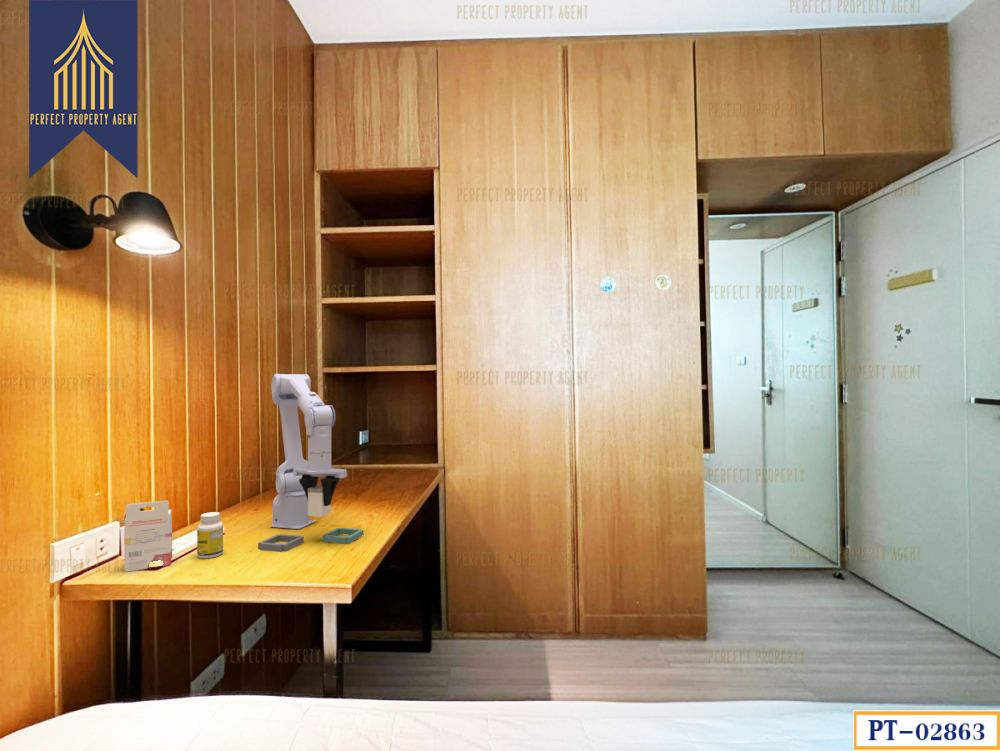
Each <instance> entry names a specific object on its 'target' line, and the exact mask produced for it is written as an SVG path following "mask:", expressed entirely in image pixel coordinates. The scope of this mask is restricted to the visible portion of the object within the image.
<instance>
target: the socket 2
mask: <svg viewBox="0 0 1000 751" xmlns="http://www.w3.org/2000/svg"><path fill="white" fill-rule="evenodd" d="M364 532H365V530H364V529H361V528H352V527H351V528H350V527H336V528H334V529H332V530H330V531H327V532H326V533H324V534H322V536H321V541H322V542H324V543H329V542H336V543H335V544H342V543H346V544H352V543H353V542H355V541H356V539H357V538H358V539H360V538H361V536H362V535H363V536H364ZM338 534H339V535H338ZM343 534H349V535H347V536H345V535H344V536H341V535H343ZM336 535H337V536H336ZM363 536H362V537H363ZM359 537H360V538H359ZM358 539H357V540H358ZM354 540H355V541H354ZM352 541H353V542H352ZM351 542H352V543H351Z"/></svg>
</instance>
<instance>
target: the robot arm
mask: <svg viewBox="0 0 1000 751" xmlns="http://www.w3.org/2000/svg"><path fill="white" fill-rule="evenodd" d="M311 386H312V384H311V377H310V376H309V374H307V373H303V374H301V373H300V374H297V373H296V374H295V373H293V374H292V373H289V374H288V373H286V374H285V373H274V375H273V376H272V378H271V386H270V388H271V396H272V398H271V399H272V400H273V401H272V402H273V404H274V405H276V406H278V408H279V414H280V422H281V431H282V441H283V450H284V458H285V461H284V462H283V463H281V464H280V465H279V466H278V467H277V468H276V470H275V475H276V477H275V488H276V492H277V493H278V494H277V495H275V497H274V499H273V502H272V524H270V528H277V529H278V528H280V529H290V530H301V529H303V528H305V527H307V526H310V525H312V524H315V522H316V519H310V516H308V488H310V487H313V486H316V485H318V480H319V477H320V478H322V479H320V483H321V485H322V487H323V502H324V506H328V505H330V504H331V505H332V500H333V496H334V493H335V491H336V488H337V486H338V484H339V482H340V481H341V479H344V478H345V479H346V478H347V476H348V475H347V472H348V471H347V469H342V468H335V467H332V428H333V427H334V426H335V424H336V423H335V422H336V411H335V409H334V407H333V405H331V404H330V405H329V404H325V403H324V402H323V400H322V399H321V398H320V396H319V395H318V394H317V393H316V392H315V391H311ZM298 408H299V409H300V410H301V412H302V414H303V415H304V416H303V417H304V425H305V434H306V435H307V460H306V459H304V457H303V448H302V438H301V430H300V420H299V419H300V418H299V413H298V411H299V410H298Z"/></svg>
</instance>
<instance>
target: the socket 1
mask: <svg viewBox="0 0 1000 751" xmlns="http://www.w3.org/2000/svg"><path fill="white" fill-rule="evenodd" d="M278 542H286V543H278ZM304 543H305V538H304V536H302V535H296V534H295V535H294V534H283V533H281V534H275V535H272V536H270V537H268V538H266V539H263V540H260V541H259V542H258V543H257V549H258V550H260V551H269V552H270V551H271V552H289V550H292V549H294V548H295V547H298V546H299V545H301V544H304Z"/></svg>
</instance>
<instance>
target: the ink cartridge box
mask: <svg viewBox="0 0 1000 751" xmlns="http://www.w3.org/2000/svg"><path fill="white" fill-rule="evenodd" d="M147 507H149V508H154V509H149V510H147V509H146V510H141V509H144V508H147ZM169 507H170V502H169V500H159V501H148V502H147V501H146V502H138V503H137V502H136V503H128V504H126V505H125V517H124V520H123V521H124V522H123V524H124V528H123V529H124V530H123V531H124V535H123V536H124V548H123V549H124V572H125V573H127V572H133V571H134V572H135V571H142V570H149V569H150V568H149V566H148V564H149V563H150V562H153V561H158V560H161V561H163V563H164V564H163V567H168V566H170V565H171V563H172V561H171V558H172V559H173V517H172V515H173V514H172V512H173V510H172V509H170V508H169ZM148 568H149V569H148Z"/></svg>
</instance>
